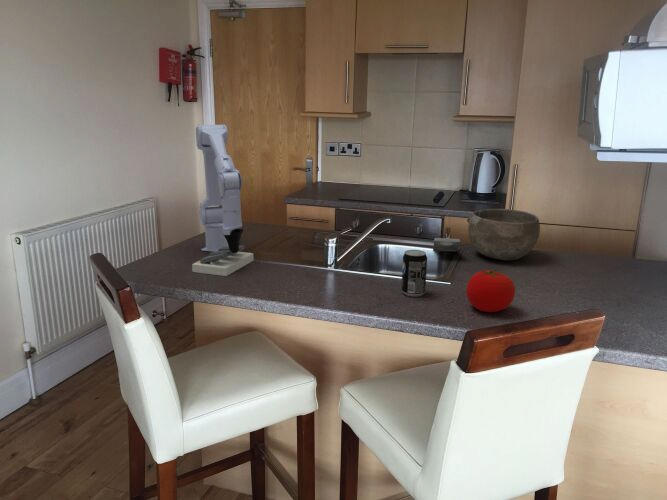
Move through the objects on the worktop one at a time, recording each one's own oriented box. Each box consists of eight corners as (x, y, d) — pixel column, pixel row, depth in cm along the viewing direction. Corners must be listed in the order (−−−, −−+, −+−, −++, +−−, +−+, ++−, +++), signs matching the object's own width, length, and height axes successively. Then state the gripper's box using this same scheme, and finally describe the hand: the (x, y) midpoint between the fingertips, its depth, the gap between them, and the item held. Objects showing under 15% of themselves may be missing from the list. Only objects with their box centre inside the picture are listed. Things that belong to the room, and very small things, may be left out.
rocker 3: (224, 250, 186) (223, 246, 185) (245, 248, 183) (244, 245, 183) (218, 252, 182) (218, 249, 182) (239, 251, 179) (239, 247, 179)
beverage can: (407, 287, 159) (408, 248, 156) (428, 292, 156) (431, 251, 153) (397, 294, 154) (399, 253, 151) (419, 299, 151) (421, 257, 147)
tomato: (466, 299, 151) (469, 262, 148) (512, 304, 147) (516, 267, 144) (463, 314, 140) (466, 275, 137) (513, 320, 137) (517, 280, 134)
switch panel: (222, 256, 189) (221, 247, 188) (253, 260, 185) (253, 251, 184) (192, 271, 172) (191, 261, 171) (226, 276, 168) (225, 265, 168)
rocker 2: (215, 254, 181) (215, 251, 180) (236, 252, 178) (236, 248, 178) (210, 257, 177) (209, 254, 177) (231, 255, 174) (230, 251, 174)
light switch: (457, 246, 198) (460, 236, 184) (456, 262, 197) (459, 253, 183) (433, 245, 199) (434, 235, 185) (432, 261, 198) (433, 252, 184)
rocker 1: (207, 260, 176) (205, 256, 176) (227, 255, 173) (226, 252, 172) (200, 263, 172) (199, 259, 172) (221, 258, 169) (220, 255, 169)
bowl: (468, 265, 182) (472, 220, 178) (461, 246, 205) (463, 206, 201) (544, 268, 179) (549, 223, 175) (527, 248, 202) (532, 208, 198)
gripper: (225, 206, 180) (228, 247, 183) (212, 214, 166) (215, 258, 169) (246, 206, 179) (249, 247, 182) (234, 214, 165) (237, 258, 168)
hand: (234, 252), depth 176 cm, fingers closed, pressing on rocker 2
